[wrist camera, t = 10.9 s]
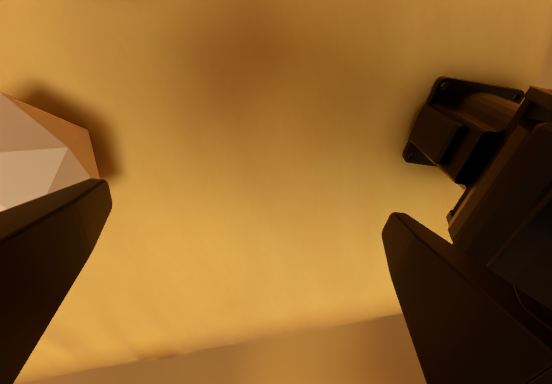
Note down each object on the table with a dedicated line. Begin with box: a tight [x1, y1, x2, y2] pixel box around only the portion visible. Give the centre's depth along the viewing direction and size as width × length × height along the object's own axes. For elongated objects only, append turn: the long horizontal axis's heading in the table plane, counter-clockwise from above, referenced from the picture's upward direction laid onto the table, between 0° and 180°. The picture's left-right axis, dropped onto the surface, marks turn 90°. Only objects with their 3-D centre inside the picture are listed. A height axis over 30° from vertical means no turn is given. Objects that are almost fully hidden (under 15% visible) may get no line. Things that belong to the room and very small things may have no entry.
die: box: [0, 93, 100, 212], centre depth 18 cm, size 8×9×10 cm
